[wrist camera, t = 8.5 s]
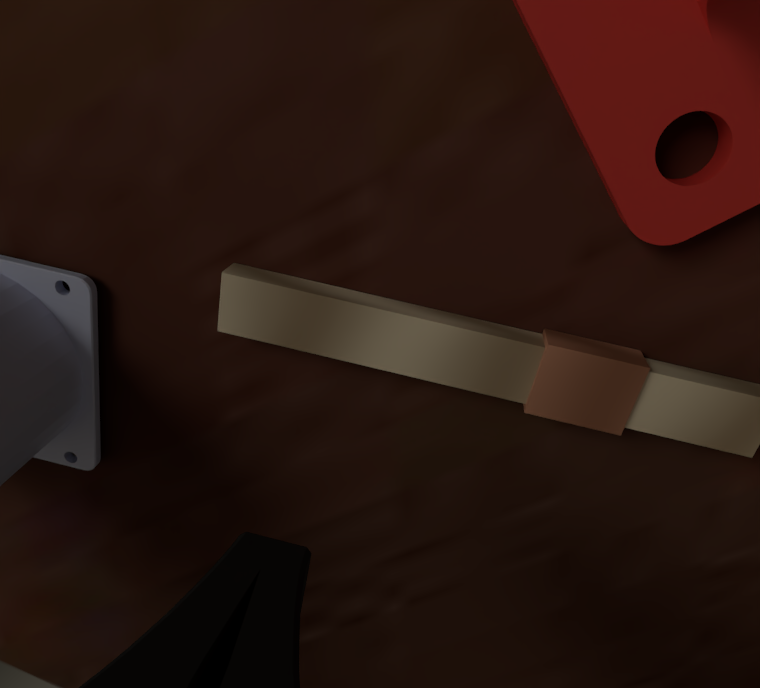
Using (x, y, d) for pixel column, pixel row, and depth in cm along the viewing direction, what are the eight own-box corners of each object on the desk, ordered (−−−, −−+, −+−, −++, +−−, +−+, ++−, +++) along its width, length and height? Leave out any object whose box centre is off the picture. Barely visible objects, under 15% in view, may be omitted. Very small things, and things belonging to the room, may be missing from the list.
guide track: (228, 324, 21) (214, 338, 19) (302, -560, 12) (284, -621, 11) (736, 444, 20) (751, 467, 19) (1206, -418, 11) (1284, -469, 10)
